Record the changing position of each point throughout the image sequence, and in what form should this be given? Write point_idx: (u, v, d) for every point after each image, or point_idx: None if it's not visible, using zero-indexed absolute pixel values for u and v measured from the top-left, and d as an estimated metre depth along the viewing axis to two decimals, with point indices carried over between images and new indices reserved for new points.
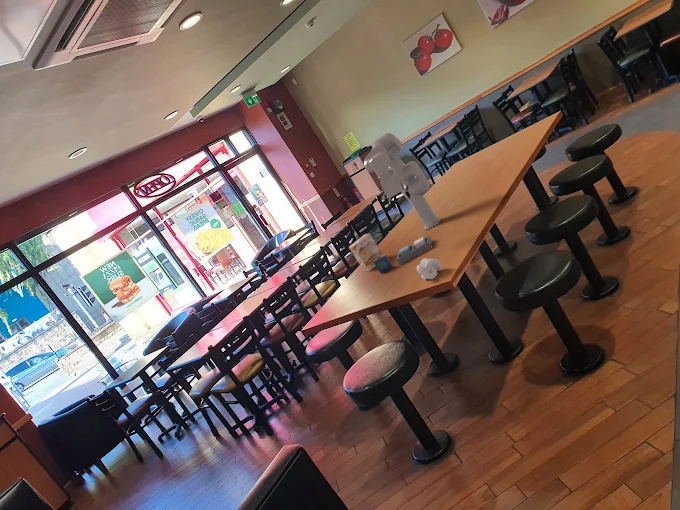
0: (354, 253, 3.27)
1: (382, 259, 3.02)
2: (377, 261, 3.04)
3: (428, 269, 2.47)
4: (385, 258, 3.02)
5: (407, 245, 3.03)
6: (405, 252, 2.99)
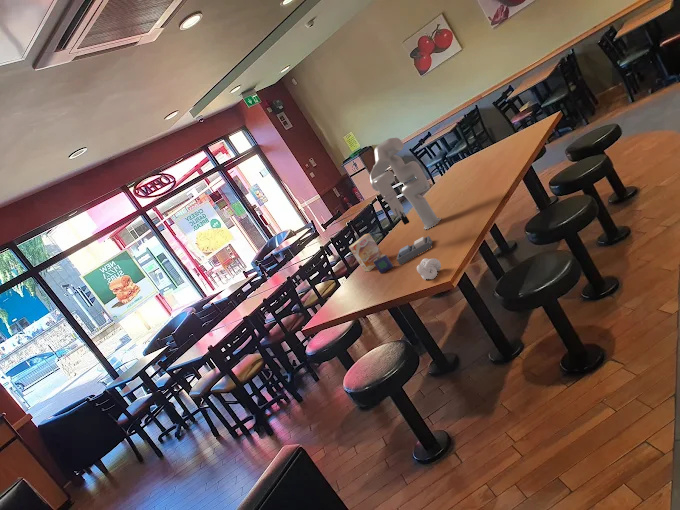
0: (354, 253, 3.27)
1: (382, 259, 3.02)
2: (377, 261, 3.04)
3: (428, 269, 2.47)
4: (385, 258, 3.02)
5: (407, 245, 3.03)
6: (405, 252, 2.99)
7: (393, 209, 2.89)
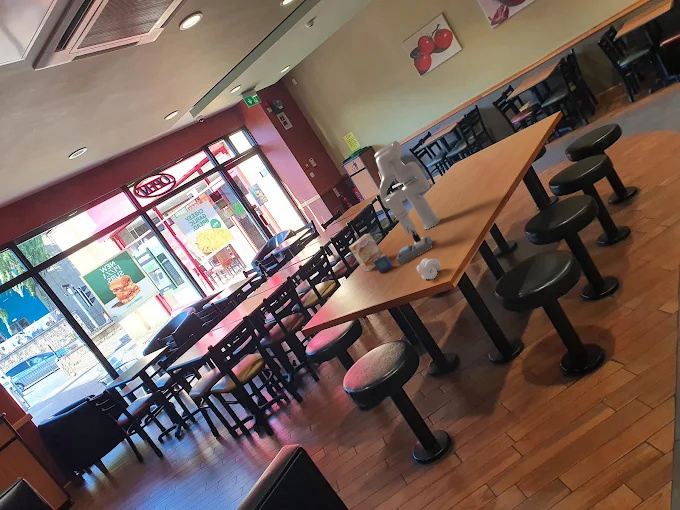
0: (354, 253, 3.27)
1: (382, 259, 3.02)
2: (377, 261, 3.04)
3: (428, 269, 2.47)
4: (385, 258, 3.02)
5: (407, 245, 3.03)
6: (405, 252, 2.99)
7: (405, 227, 2.91)
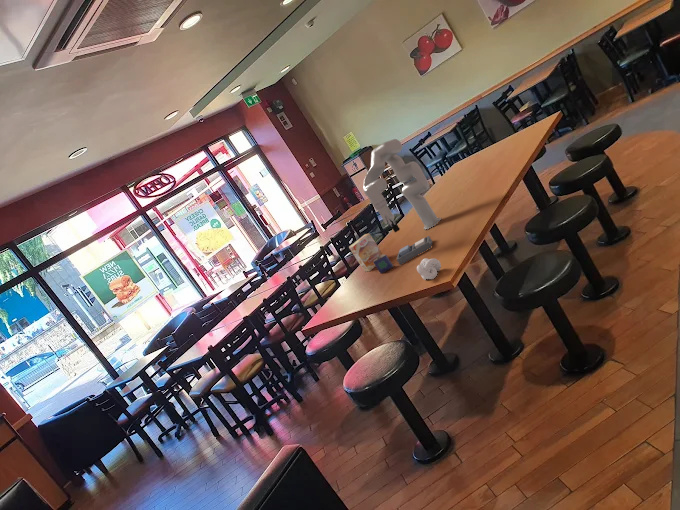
0: (354, 253, 3.27)
1: (382, 259, 3.02)
2: (377, 261, 3.04)
3: (428, 269, 2.47)
4: (385, 258, 3.02)
5: (407, 245, 3.03)
6: (405, 252, 2.99)
7: (383, 217, 2.91)
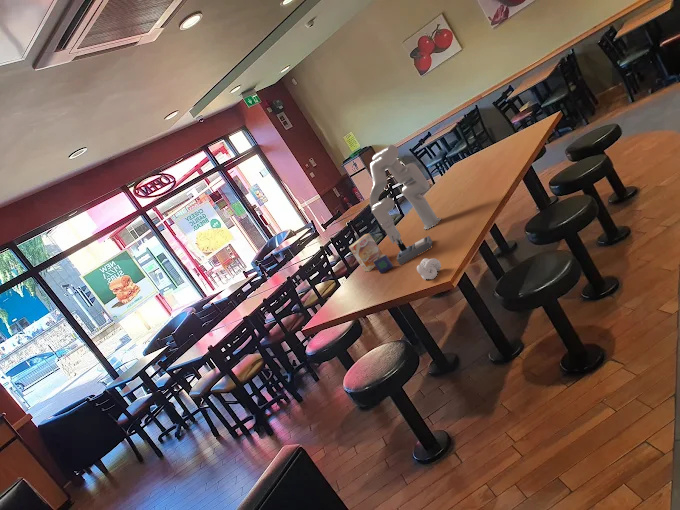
0: (354, 253, 3.27)
1: (382, 259, 3.02)
2: (377, 261, 3.04)
3: (428, 269, 2.47)
4: (385, 258, 3.02)
5: (408, 246, 3.03)
6: (406, 253, 2.99)
7: (390, 237, 2.95)
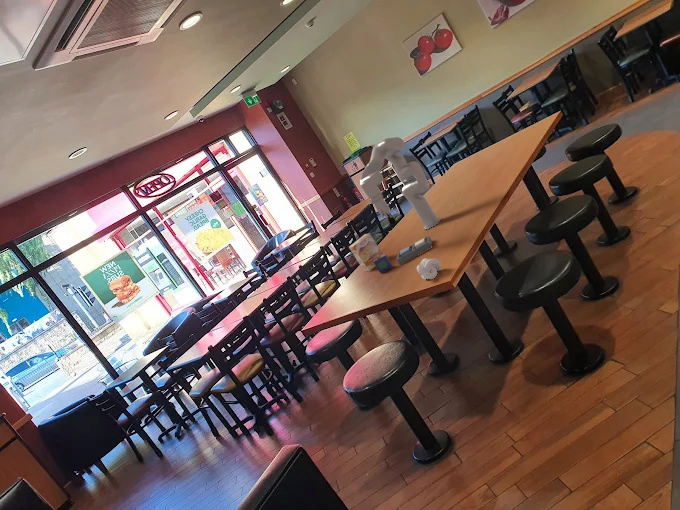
0: (354, 253, 3.27)
1: (382, 259, 3.02)
2: (377, 261, 3.04)
3: (428, 269, 2.47)
4: (385, 258, 3.02)
5: (408, 246, 3.03)
6: (406, 253, 2.99)
7: (380, 210, 2.95)
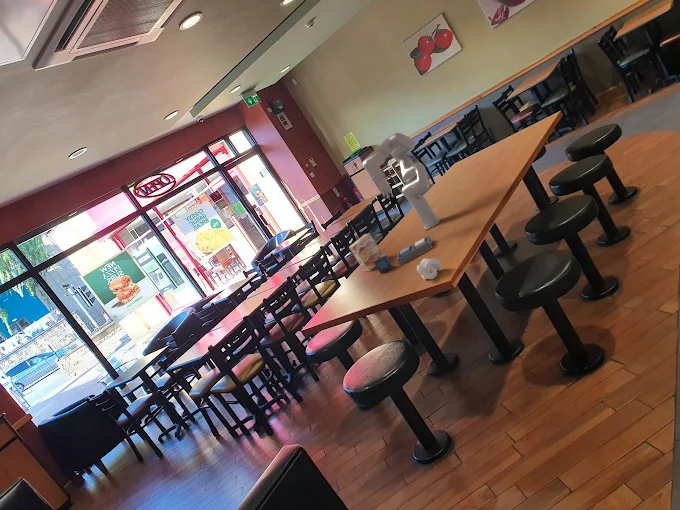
0: (354, 253, 3.27)
1: (382, 259, 3.02)
2: (377, 261, 3.04)
3: (428, 269, 2.47)
4: (385, 258, 3.02)
5: (408, 246, 3.03)
6: (406, 253, 2.99)
7: (381, 190, 3.02)
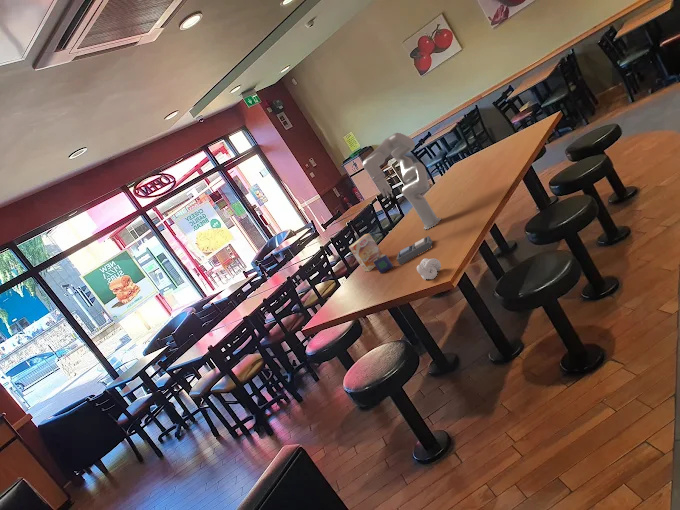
0: (354, 253, 3.27)
1: (382, 259, 3.02)
2: (377, 261, 3.04)
3: (428, 269, 2.47)
4: (385, 258, 3.02)
5: (408, 246, 3.03)
6: (406, 253, 2.99)
7: (381, 190, 3.02)
